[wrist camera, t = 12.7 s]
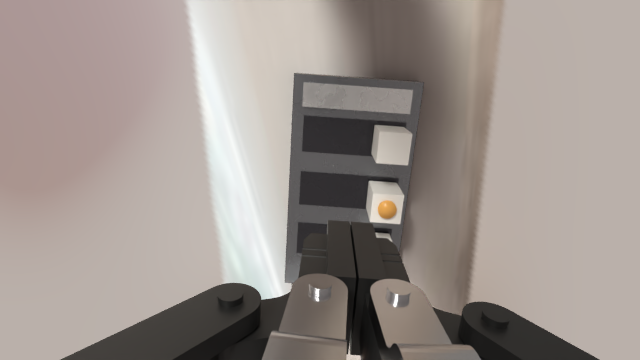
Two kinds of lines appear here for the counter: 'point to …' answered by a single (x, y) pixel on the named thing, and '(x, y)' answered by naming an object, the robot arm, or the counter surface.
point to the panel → (342, 153)
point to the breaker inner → (391, 145)
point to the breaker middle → (384, 202)
